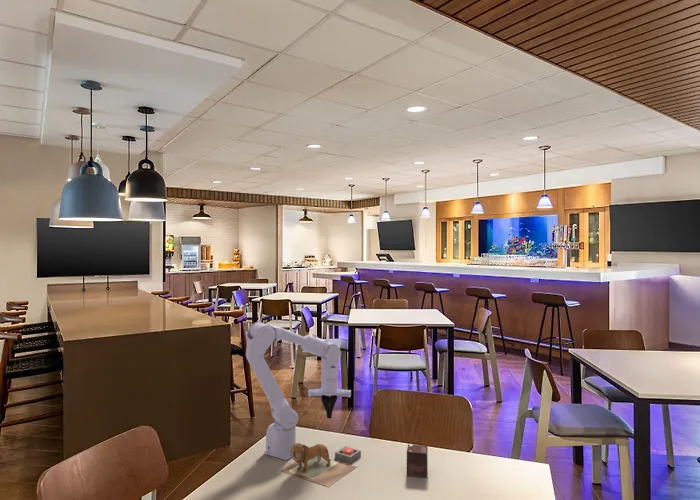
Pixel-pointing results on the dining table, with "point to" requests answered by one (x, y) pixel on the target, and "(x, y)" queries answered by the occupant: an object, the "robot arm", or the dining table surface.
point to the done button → (348, 451)
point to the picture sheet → (320, 471)
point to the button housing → (347, 458)
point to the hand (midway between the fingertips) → (329, 417)
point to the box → (417, 460)
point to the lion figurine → (309, 454)
